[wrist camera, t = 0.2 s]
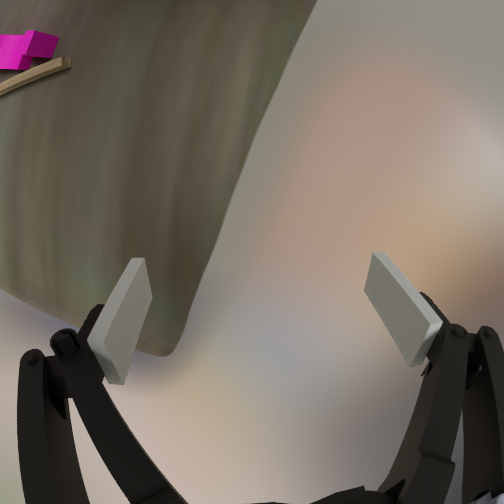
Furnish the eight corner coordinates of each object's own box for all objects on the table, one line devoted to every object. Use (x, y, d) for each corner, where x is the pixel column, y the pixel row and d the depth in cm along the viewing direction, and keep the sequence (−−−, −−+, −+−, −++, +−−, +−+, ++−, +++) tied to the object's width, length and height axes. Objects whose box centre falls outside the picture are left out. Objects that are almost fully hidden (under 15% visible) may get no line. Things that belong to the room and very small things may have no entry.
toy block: (-3, 68, 26) (-29, 68, 19) (7, 37, 24) (-17, 34, 17) (47, 72, 29) (20, 70, 23) (59, 37, 27) (34, 30, 20)
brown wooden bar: (-14, 95, 28) (-24, 96, 25) (71, 58, 29) (61, 56, 27) (-14, 102, 29) (-24, 104, 26) (70, 67, 30) (61, 65, 27)
